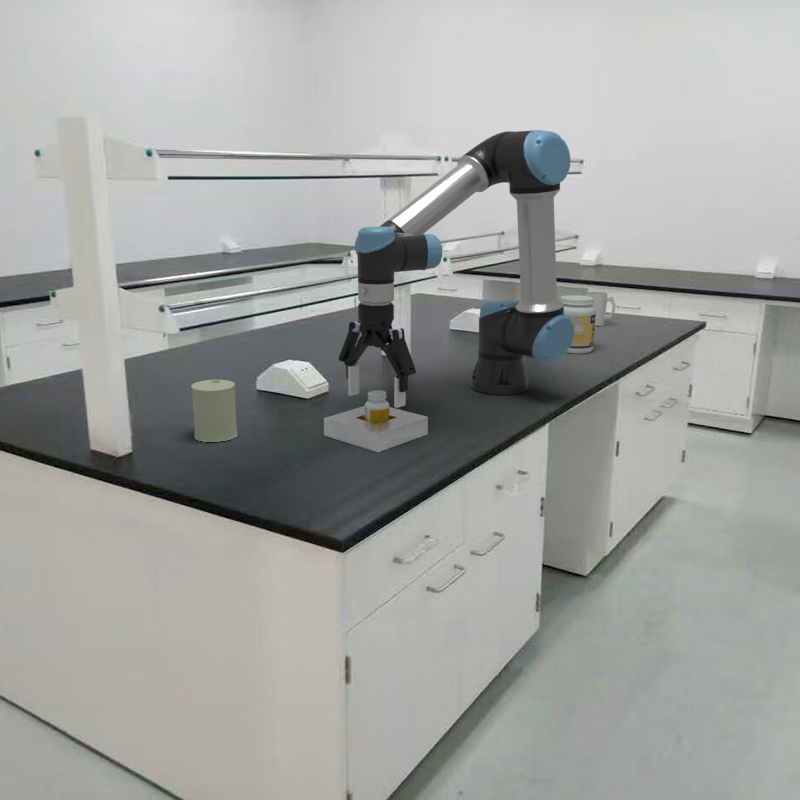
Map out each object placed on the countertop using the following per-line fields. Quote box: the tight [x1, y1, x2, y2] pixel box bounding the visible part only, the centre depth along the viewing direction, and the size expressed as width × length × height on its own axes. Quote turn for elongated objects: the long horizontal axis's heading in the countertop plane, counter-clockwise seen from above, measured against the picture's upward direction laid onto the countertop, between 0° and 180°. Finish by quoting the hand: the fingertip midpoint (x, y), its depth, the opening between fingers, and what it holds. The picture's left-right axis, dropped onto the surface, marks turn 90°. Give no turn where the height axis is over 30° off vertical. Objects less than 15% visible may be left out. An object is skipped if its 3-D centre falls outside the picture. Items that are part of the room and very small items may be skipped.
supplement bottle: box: [364, 389, 390, 424], centre depth 181 cm, size 5×5×10 cm
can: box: [190, 379, 239, 443], centre depth 179 cm, size 9×9×12 cm
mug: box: [587, 290, 616, 326], centre depth 304 cm, size 10×7×12 cm, turn 63°
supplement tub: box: [559, 294, 596, 355], centre depth 263 cm, size 12×12×17 cm
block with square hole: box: [323, 405, 429, 453], centre depth 181 cm, size 16×16×4 cm
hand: (376, 400), depth 180 cm, fingers open, 13 cm apart
